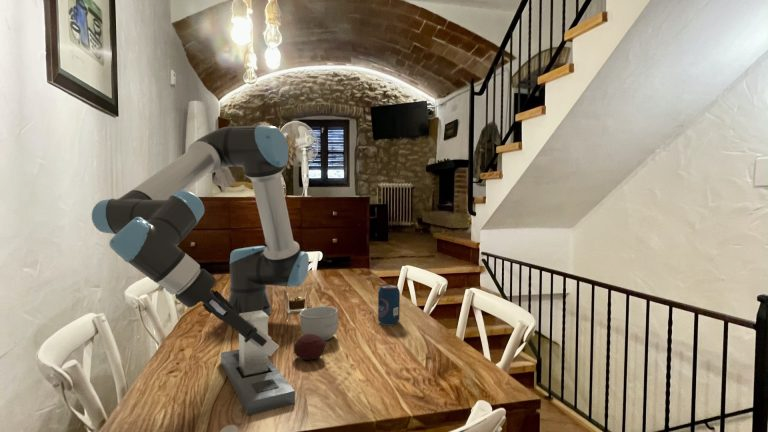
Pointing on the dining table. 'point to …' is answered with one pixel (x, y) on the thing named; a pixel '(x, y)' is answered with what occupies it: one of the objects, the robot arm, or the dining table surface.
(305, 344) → the potato
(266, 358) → the grey rectangular block
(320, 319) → the teacup
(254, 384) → the grey board with recesses
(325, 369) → the dining table surface
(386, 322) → the soda can
